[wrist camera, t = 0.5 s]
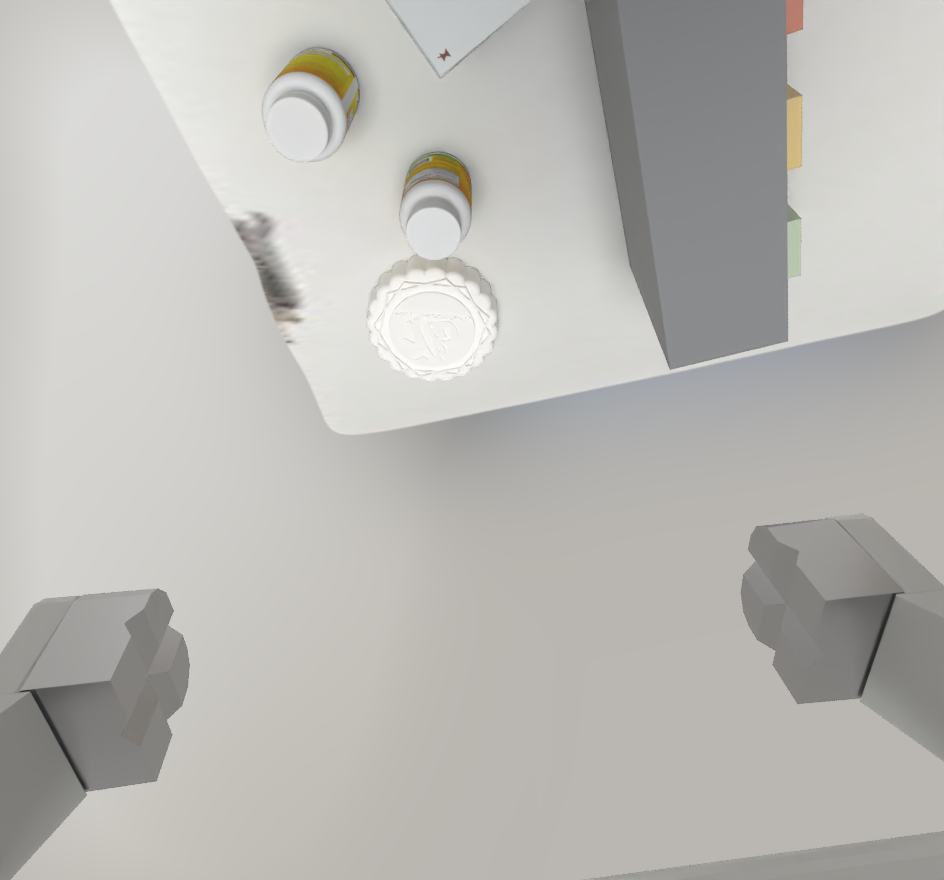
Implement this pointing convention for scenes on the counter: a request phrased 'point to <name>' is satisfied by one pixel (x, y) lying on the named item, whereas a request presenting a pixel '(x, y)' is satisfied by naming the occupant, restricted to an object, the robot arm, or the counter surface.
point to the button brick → (794, 16)
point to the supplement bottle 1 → (311, 105)
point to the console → (700, 165)
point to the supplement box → (452, 26)
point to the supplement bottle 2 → (436, 205)
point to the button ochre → (794, 129)
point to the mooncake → (432, 318)
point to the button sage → (793, 243)
